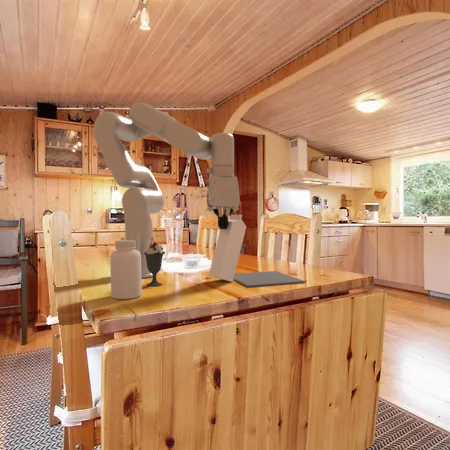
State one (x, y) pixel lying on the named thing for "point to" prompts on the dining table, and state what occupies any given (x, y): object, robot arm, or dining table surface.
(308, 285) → the dining table surface
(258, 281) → the slate mat
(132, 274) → the pill bottle
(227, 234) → the milk
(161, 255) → the sundae
